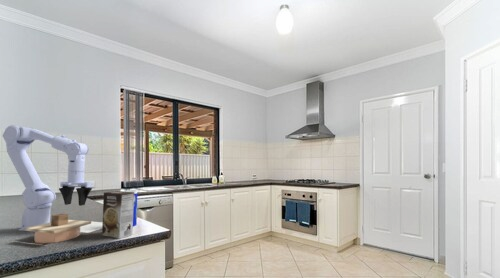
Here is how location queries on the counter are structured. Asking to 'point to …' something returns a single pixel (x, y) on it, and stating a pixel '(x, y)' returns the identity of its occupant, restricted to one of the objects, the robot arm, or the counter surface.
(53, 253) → the counter surface
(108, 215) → the coffee box
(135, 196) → the beverage can
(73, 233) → the bowl
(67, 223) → the lid
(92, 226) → the mat
